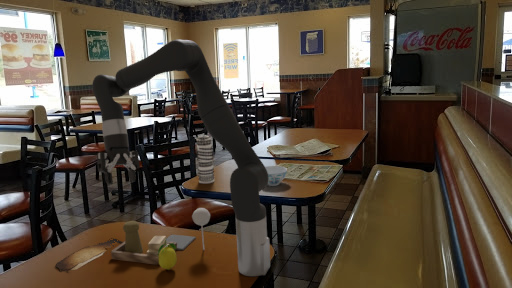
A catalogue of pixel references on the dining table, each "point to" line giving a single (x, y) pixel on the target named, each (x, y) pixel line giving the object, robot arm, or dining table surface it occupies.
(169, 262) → the lemon
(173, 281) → the dining table surface
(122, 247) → the frame
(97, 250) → the parchment
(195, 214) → the lollipop
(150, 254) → the offcut lower
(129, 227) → the cork
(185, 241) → the pad
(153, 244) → the offcut upper
